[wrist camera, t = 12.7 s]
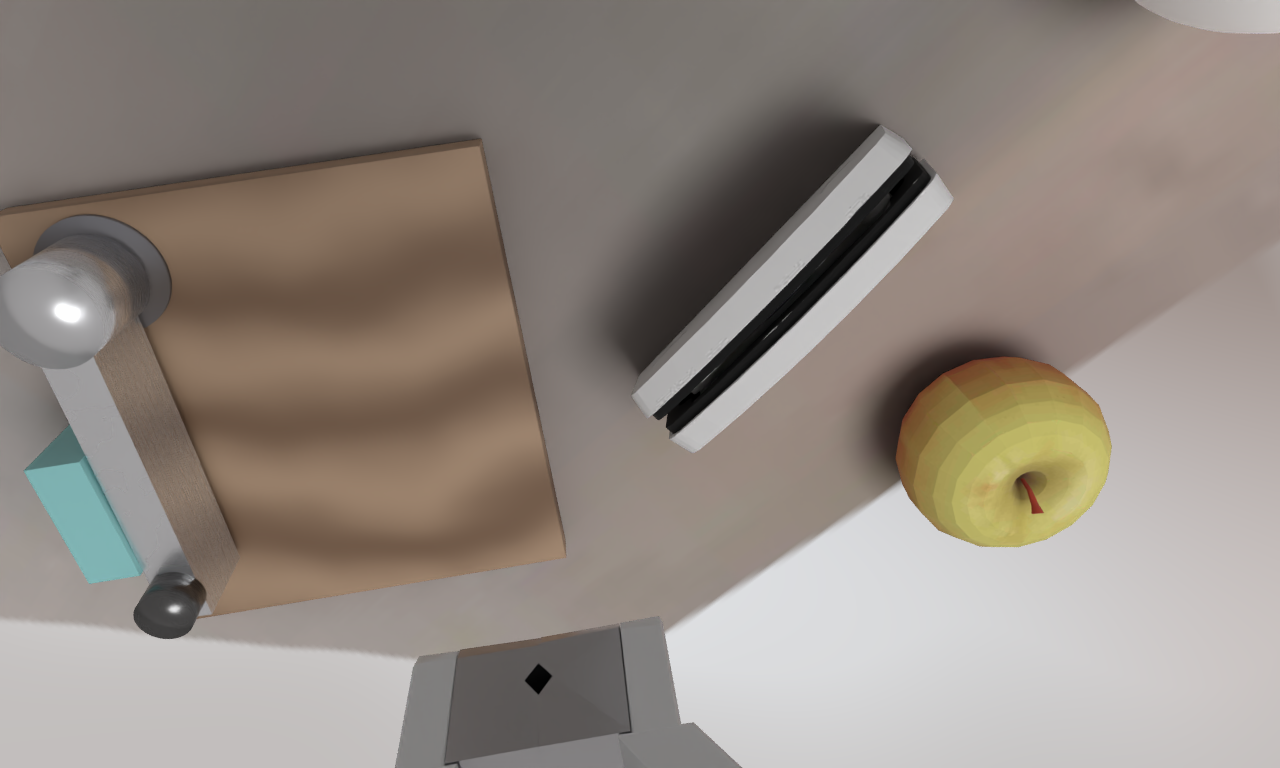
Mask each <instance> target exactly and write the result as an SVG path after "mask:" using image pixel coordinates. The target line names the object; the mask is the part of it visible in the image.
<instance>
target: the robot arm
mask: <svg viewBox="0 0 1280 768" xmlns="http://www.w3.org/2000/svg"><path fill="white" fill-rule="evenodd" d="M395 768H742V767H741V766H739V764H737V763H736V762H735V761H734V760H733V759H732V758H731V757H730V756H729V755H728V754H727V753H726V752H725V751H724V750H723V749H721V748H720V747H719V746H718V745H717V744H716V743H715V742H714V741H713V740H712V739H711V738H710V737H709V736H707V735H706V734H705V733H704V732H703V731H702V730H701V729H700V728H699V727H698V726H697V725H696V724H694V723H686V724H681V721H680V716H679V710H678V705H677V700H676V694H675V688H674V683H673V677H672V672H671V666H670V661H669V655H668V650H667V644H666V639H665V633H664V628H663V622H662V620H661V618H660V617H659V616H656V617H651V618H645V619H640V620H634V621H629V622H623V623H620V625H619V624H613V625H608V626H602V627H597V628H591V629H586V630H580V631H574V632H569V633H563V634H558V635H552V636H547V637H541V638H538V639H531V640H524V641H517V642H510V643H503V644H497V645H490V646H483V647H476V648H469V649H462V650H460V651H455V652H448V653H441V654H433V655H426V656H419V658H418V660H417V662H416V663H415V665H414V667H413V671H412V677H411V682H410V688H409V693H408V699H407V705H406V710H405V715H404V721H403V726H402V732H401V738H400V743H399V749H398V754H397V759H396V765H395Z"/></svg>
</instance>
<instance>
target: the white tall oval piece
mask: <svg viewBox="0 0 1280 768" xmlns="http://www.w3.org/2000/svg"><path fill="white" fill-rule="evenodd" d="M1135 1H1136V2H1137V3H1138V4H1139V5H1141V6H1142V7H1144V8H1146V9H1147V10H1149V11H1151V12H1153V13H1155V14H1157V15H1159V16H1161V17H1163V18H1165V19H1167V20H1170V21H1173V22H1176V23H1179V24H1183V25H1187V26H1191V27H1195V28H1199V29H1203V30H1209V31H1214V32H1224V33H1250V34H1267V33H1280V0H1135Z"/></svg>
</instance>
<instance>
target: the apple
mask: <svg viewBox="0 0 1280 768" xmlns="http://www.w3.org/2000/svg"><path fill="white" fill-rule="evenodd" d="M1111 447H1112V446H1111V441H1110V436H1109V431H1108V428H1107V426H1106V423H1105V420H1104V418H1103V415H1102V412H1101V410H1100V407H1099V405H1098V404H1097V403H1096V402H1095V401H1094V400H1093V399H1092V398H1091V396H1090V395H1088V393H1087V392H1085V391H1084V390H1083V389H1082V388H1081V387H1079V386H1078V385H1077V384H1076V383H1074V382H1073V381H1072V380H1071V379H1069V378H1068V377H1067V376H1066V375H1064V374H1063V373H1062V372H1060V371H1059V370H1057V369H1055V368H1054V367H1052V366H1051V365H1049V364H1045V363H1041V362H1036V361H1032V360H1028V359H1024V358H1019V357H995V358H987V359H979V360H972V361H970V362H968V363H965V364H963V365H961V366H959V367H956V368H954V369H952V370H950V371H947V372H945V373H943V374H942V375H940V376H939V377H938V378H937V379H936V380H935V381H933V382H932V383H931V384H930V385H929V386H927V387H926V388H925V389H924V390H923V391H922V392H920V393H919V394H918V396H917V397H916V399H915V400H914V402H913V403H912V405H911V407H910V408H909V410H908V411H907V413H906V415H905V416H904V418H903V420H902V425H901V430H900V435H899V440H898V446H897V453H896V462H897V466H898V469H899V473H900V477H901V481H902V484H903V486H904V488H905V490H906V492H907V494H908V496H909V498H910V500H911V501H912V502H913V503H914V504H915V506H916V507H917V508H918V509H919V510H920V512H921V513H922V514H923V515H924V516H925V517H926V518H927V519H928V520H929V521H930V522H931V523H932V524H933V525H934V526H935V527H936V528H937V529H938V530H939V531H942V532H944V533H946V534H949V535H951V536H953V537H956V538H958V539H961V540H964V541H967V542H970V543H972V544H975V545H977V546H982V547H983V546H984V547H1021V546H1024V545H1028V544H1031V543H1035V542H1038V541H1042V540H1046V539H1048V538H1049V537H1051V536H1053V535H1055V534H1057V533H1058V532H1060V531H1062V530H1064V529H1065V528H1067V527H1069V526H1071V525H1072V524H1073V523H1074V522H1075V521H1076V520H1077V519H1078V518H1079V517H1081V515H1083V514H1084V513H1085V512H1086V511H1087V510H1088V509H1089V508H1090V507H1091V506H1092V505H1093V503H1094V501H1095V499H1096V498H1097V496H1098V494H1099V493H1100V491H1101V489H1102V487H1103V486H1104V484H1105V482H1106V478H1107V474H1108V469H1109V462H1110V455H1111Z"/></svg>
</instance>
